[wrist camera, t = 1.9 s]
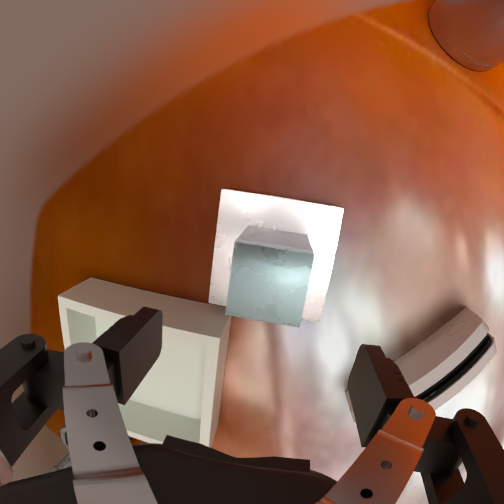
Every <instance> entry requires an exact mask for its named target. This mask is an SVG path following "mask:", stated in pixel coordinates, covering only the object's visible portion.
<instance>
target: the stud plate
mask: <svg viewBox="0 0 504 504" xmlns="http://www.w3.org/2000/svg"><path fill="white" fill-rule="evenodd" d="M343 211H344V209H343V208H341V207H338V206H333V205H328V204H322V203H316V202H311V201H305V200H299V199H293V198H287V197H281V196H274V195H268V194H261V193H255V192H248V191H241V190H234V189H222V190H221V198H220V205H219V213H218V221H217V229H216V238H215V246H214V255H213V264H212V273H211V282H210V292H209V302H208V303H212V304H217V305H222V306H226V304H227V296H228V288H229V280H230V272H231V265H232V257H233V249H234V242H235V240H236V239H237V238H238V237H239V236H240V235H241V233H242V232H243V231H244V230H245V229H246V228H247V227H248V225H251V226H257V227H264V228H270V229H276V230H282V231H288V232H294V233H300V234H306V235H307V236H308V238H309V241H310V243H311V246H312V249H313V251H314V254H315V256H314V261H313V266H312V271H311V276H310V281H309V286H308V291H307V295H306V300H305V305H304V309H303V314H302V318H301V319H305V320H312V321H318V322H320V319H321V315H322V311H323V307H324V303H325V298H326V294H327V290H328V285H329V281H330V276H331V272H332V267H333V262H334V258H335V253H336V248H337V243H338V238H339V232H340V227H341V222H342V216H343Z"/></svg>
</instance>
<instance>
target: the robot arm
mask: <svg viewBox="0 0 504 504" xmlns="http://www.w3.org/2000/svg"><path fill="white" fill-rule="evenodd" d="M428 19H429V24H430V28H431V30H432V32H433V34H434V36H435V38H436V39H437V41H438V43H439V44H440V45H441V46H442V48H443V49H444V50H445V51H446V52H447V53H448V54H449V55H450V56H451V57H452V58H453V59H454V60H456V61H457V62H458V63H460V64H461V65H463V66H465V67H466V68H469V69H471V70H474V71H487V70H489V69H491V68H493V67H495V66H497V65H499V64H501V63H503V62H504V0H436V1H435V2H434V3H433V4H432V6H431V7H430V9H429V13H428ZM162 324H163V314H162V311H161V310H157V309H153V308H149V307H142V308H141V309H140V310H139V311H138V312H137V313H136V314H135V315H128V316H125V317H123V318H120V319H119V320H118V321H117V322H115V323H114V324H113V326H111V327H110V328H109V329H108V330H106V331H105V332H104V333H103V334H102V335H100V336H99V337H98V338H97V339H96V340H95V341H94V342H92V343H87V342H81V343H75V344H72V345H70V346H69V347H67V348H66V350H65V351H64V352H58V351H52V350H47V347H46V342H45V339H44V338H43V337H41V336H39V335H36V334H25V335H21V336H18V337H16V338H15V339H14V340H12V341H11V342H9V343H8V344H7V345H5V346H4V347H3V348H1V349H0V504H395V503H396V502H397V500H398V498H399V497H400V495H401V493H402V491H403V490H404V488H405V486H406V484H407V482H408V480H409V479H410V477H411V475H412V473H413V471H416V472H421V476H422V480H423V483H424V487H425V491H426V494H427V498H428V502H429V504H504V450H503V448H502V446H501V444H500V443H499V441H498V439H497V437H496V436H495V434H494V432H493V430H492V429H491V427H490V425H489V424H488V422H487V420H486V419H485V417H484V416H483V415H482V414H480V413H479V412H477V411H475V410H472V409H461V410H459V411H458V412H457V413H456V415H455V416H454V418H453V419H448V418H443V417H437V416H436V413H435V410H434V409H433V407H432V406H431V405H430V404H428V403H427V402H425V401H423V400H421V399H417V398H415V397H414V395H413V393H412V391H411V390H410V388H409V386H408V384H407V382H406V381H405V378H404V376H403V375H402V373H401V371H400V369H399V367H398V365H397V364H395V363H394V362H393V361H392V360H391V359H390V358H386V357H385V355H384V353H383V351H382V349H381V347H380V346H375V345H365V344H362V345H361V346H360V348H359V350H358V353H357V356H356V359H355V362H354V365H353V368H352V371H351V373H350V376H349V380H348V392H349V396H350V400H351V404H352V408H353V412H354V416H355V420H356V424H357V429H358V433H359V437H360V442H361V446H362V447H366V448H365V449H364V451H363V452H362V453H361V454H360V456H359V457H358V458H357V459H356V461H355V462H354V463H353V464H352V466H351V467H350V468H349V469H348V470H347V471H346V473H345V474H344V475H343V476H342V477H341V478H340V480H339V481H338V482H337V481H335V480H334V479H332V478H330V477H328V476H326V475H324V474H322V473H319V472H316V471H313V470H310V460H304V459H293V458H283V457H258V458H235V457H232V456H229V455H227V454H224V453H222V452H219V451H217V450H215V449H212V448H210V447H207V446H205V445H203V444H200V443H196V442H192V441H188V440H184V439H180V438H177V437H173V436H169V435H166V437H165V439H164V442H163V444H159V443H147V444H138V445H131V442H130V439H129V436H128V433H127V430H126V427H125V424H124V421H123V418H122V415H121V412H120V408H119V405H118V403H119V404H122V405H125V404H126V403H127V402H128V400H129V399H130V397H131V396H132V394H133V393H134V392H135V390H136V389H137V387H138V386H139V385H140V383H141V382H142V380H143V379H144V377H145V376H146V375H147V373H148V372H149V370H150V369H151V368H152V366H153V365H154V363H155V362H156V361H157V359H158V358H159V356H160V353H161V349H162ZM21 384H22V385H23V388H24V392H23V393H22V394H21V395H20V396H19V397H18V398H17V399H16V400H15V401H14V402H13V403H11V398H12V395H13V393H14V391H15V390H16V389H17V388H18V387H19V386H20V385H21ZM57 409H64V413H65V423H66V431H67V439H68V446H69V452H70V458H71V464H72V466H70V467H67V468H64V469H60V470H57V471H53V472H50V473H46V474H42V475H38V476H34V477H30V478H27V479H22V480H17V481H13V482H11V480H12V477H13V470H12V466H13V465H14V463H15V462H16V460H17V459H18V458H19V457H20V455H21V454H22V453H23V451H24V450H25V449H26V447H27V446H28V445H29V444H30V443H31V441H32V440H33V438H34V437H35V436H36V435H37V434H38V432H39V431H40V430H41V429H42V427H43V426H44V425H45V424H46V422H47V421H48V420H49V419H50V417H51V416H52V415H53V414H54V413H55V411H56V410H57ZM462 462H463V464H464V466H465V469H466V471H467V478H466V481H465V483H464V482H463V479H462V477H461V474H460V471H459V469H458V467H459V466H460V465H461V463H462Z"/></svg>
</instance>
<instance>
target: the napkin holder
mask: <svg viewBox="0 0 504 504" xmlns="http://www.w3.org/2000/svg"><path fill="white" fill-rule="evenodd" d="M488 331H489V327H488V326H487V325H486V323H485V322H484V321H483V320H482V319H481V318H480V317H479V316H477V315H476V314H475V313H474V312H472V311H471V310H470V309H469V308H467V307H465V308H464V309H463V310H462V311H460V312H459V313H458V314H457V315H456V316H454V317H453V318H452V319H451V320H449V321H448V322H447V323H446V324H444V325H443V326H442V327H441V328H439V329H438V330H437V331H435V332H434V333H433V334H432V335H430V336H429V337H428V338H426V339H425V340H424V341H422V342H421V343H419V344H418V345H417V346H415V347H414V348H412V349H411V350H410V351H408V352H407V353H405V354H404V355H402V356H401V357H400V358H398V359H397V360H395V361H394V363H395V364H397V365H398V367H399V369H400V371H401V373H402V375H403V376H404V378H405V381H406V382H407V384H408V386H409V388H410V390H411V391H412V393H413V395H414V397H415V398H417V399H421V400H423V401H425V402H427V403H428V404H430V405H431V406H432V407H433V409H434V410H436V409H437V408H438V407H440V406H441V405H443V404H444V403H446V402H447V401H448V400H450V399H451V398H452V397H454V396H455V395H456V394H457V393H459V392H460V391H461V390H462V389H463V388H464V387H465V386H467V385H468V384H469V383H470V382H471V381H472V380H473V379H474V378H475V377H476V376H477V375H478V374H479V373H480V372H481V371H482V370H483V369H484V368H485V366H486V365H487V364H488V363H489V362H490V360H491V359H492V358H493V357H494V355H495V354H496V345H495V341H494V338H493V337H492V336H491V335H490V334H489V333H488ZM345 393H346V397H347V400H348V404H349V408H350V411H351V414H352V417H353V420H354V422H356V420H355V416H354V412H353V408H352V404H351V400H350V396H349V392H348V390H347V391H345Z"/></svg>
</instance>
